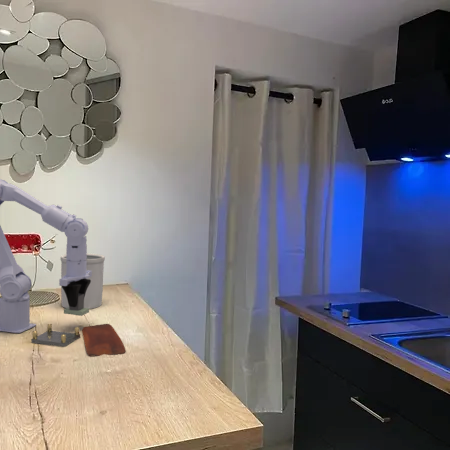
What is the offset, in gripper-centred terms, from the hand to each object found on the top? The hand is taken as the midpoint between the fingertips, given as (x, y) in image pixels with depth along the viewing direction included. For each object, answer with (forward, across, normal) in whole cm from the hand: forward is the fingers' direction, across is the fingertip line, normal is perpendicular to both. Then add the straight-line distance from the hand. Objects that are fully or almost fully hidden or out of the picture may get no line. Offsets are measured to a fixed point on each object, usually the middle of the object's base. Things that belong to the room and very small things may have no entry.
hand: (76, 305), depth 141 cm
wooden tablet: (+8, -6, -12) cm, 15 cm away
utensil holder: (+7, +24, +12) cm, 28 cm away
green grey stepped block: (+2, 0, 0) cm, 2 cm away
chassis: (+7, -11, -1) cm, 13 cm away
